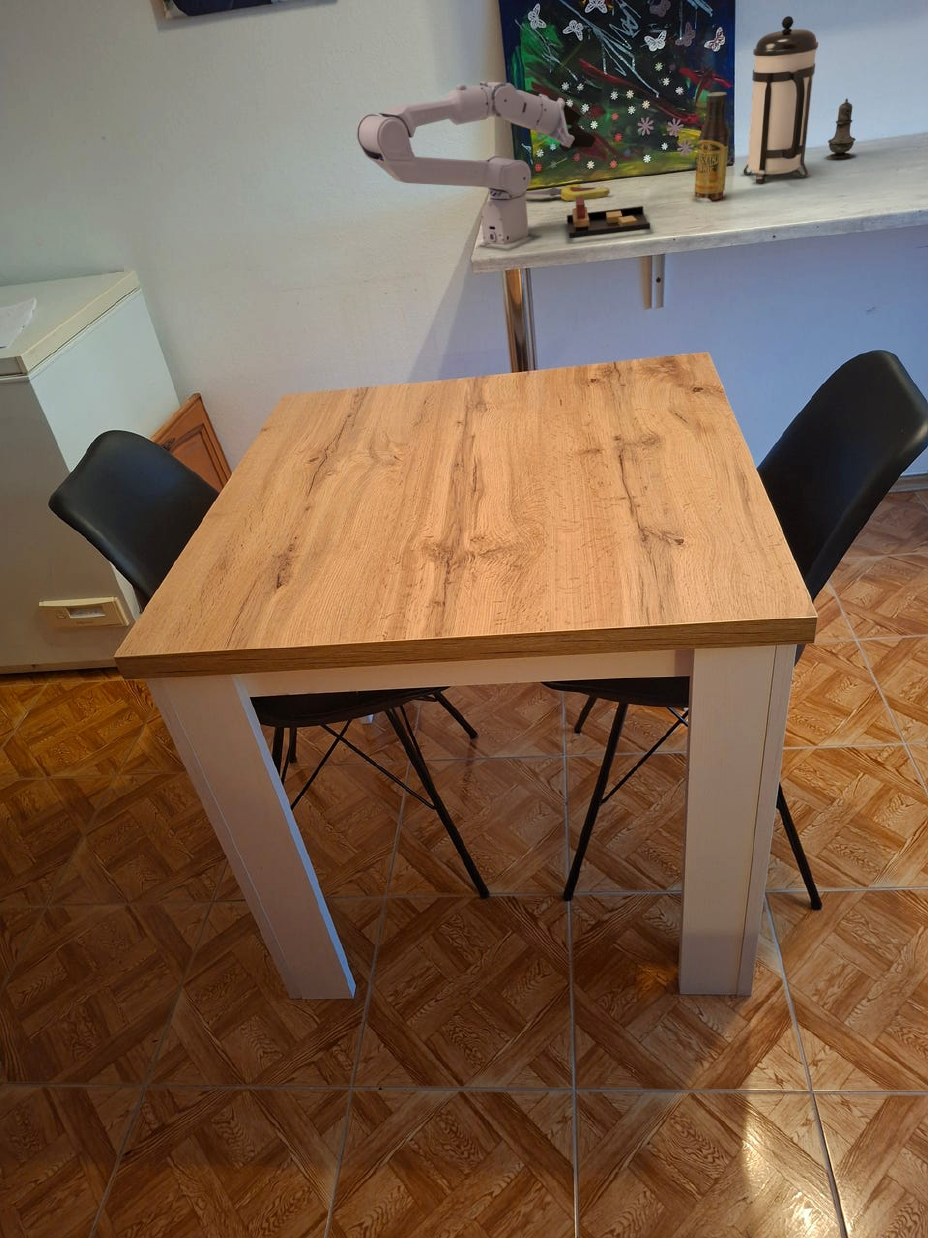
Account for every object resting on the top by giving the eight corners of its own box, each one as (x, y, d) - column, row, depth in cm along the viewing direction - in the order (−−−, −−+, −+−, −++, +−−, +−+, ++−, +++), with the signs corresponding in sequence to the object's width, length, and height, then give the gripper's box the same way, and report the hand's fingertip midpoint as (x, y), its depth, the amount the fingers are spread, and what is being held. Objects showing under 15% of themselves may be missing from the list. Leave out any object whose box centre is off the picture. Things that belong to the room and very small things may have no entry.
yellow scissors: (503, 204, 208) (603, 202, 197) (502, 192, 207) (602, 190, 196) (517, 195, 213) (614, 193, 203) (516, 183, 212) (614, 181, 201)
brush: (574, 234, 177) (573, 207, 173) (572, 221, 185) (571, 194, 182) (589, 233, 176) (588, 205, 173) (586, 219, 184) (585, 193, 181)
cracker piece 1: (607, 223, 180) (607, 217, 179) (606, 218, 183) (606, 212, 183) (622, 221, 180) (622, 215, 179) (620, 216, 183) (620, 210, 182)
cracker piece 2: (622, 228, 176) (622, 222, 175) (617, 223, 179) (617, 217, 178) (637, 226, 176) (637, 219, 175) (632, 221, 179) (632, 215, 178)
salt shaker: (828, 161, 201) (835, 101, 194) (824, 155, 205) (830, 97, 198) (855, 158, 200) (863, 98, 192) (850, 152, 204) (858, 94, 197)
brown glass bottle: (688, 201, 189) (692, 96, 177) (704, 193, 192) (708, 90, 180) (715, 203, 185) (721, 96, 173) (731, 195, 188) (737, 89, 176)
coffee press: (724, 182, 198) (732, 24, 179) (764, 165, 205) (775, 12, 187) (793, 188, 187) (809, 20, 168) (833, 170, 194) (852, 7, 176)
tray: (569, 243, 176) (569, 232, 175) (567, 224, 187) (566, 214, 186) (650, 233, 174) (650, 223, 173) (642, 215, 185) (642, 205, 184)
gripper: (558, 114, 166) (610, 133, 173) (530, 71, 172) (582, 91, 180) (539, 149, 171) (591, 165, 178) (513, 106, 177) (564, 124, 185)
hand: (585, 130), depth 179 cm, fingers open, 7 cm apart
